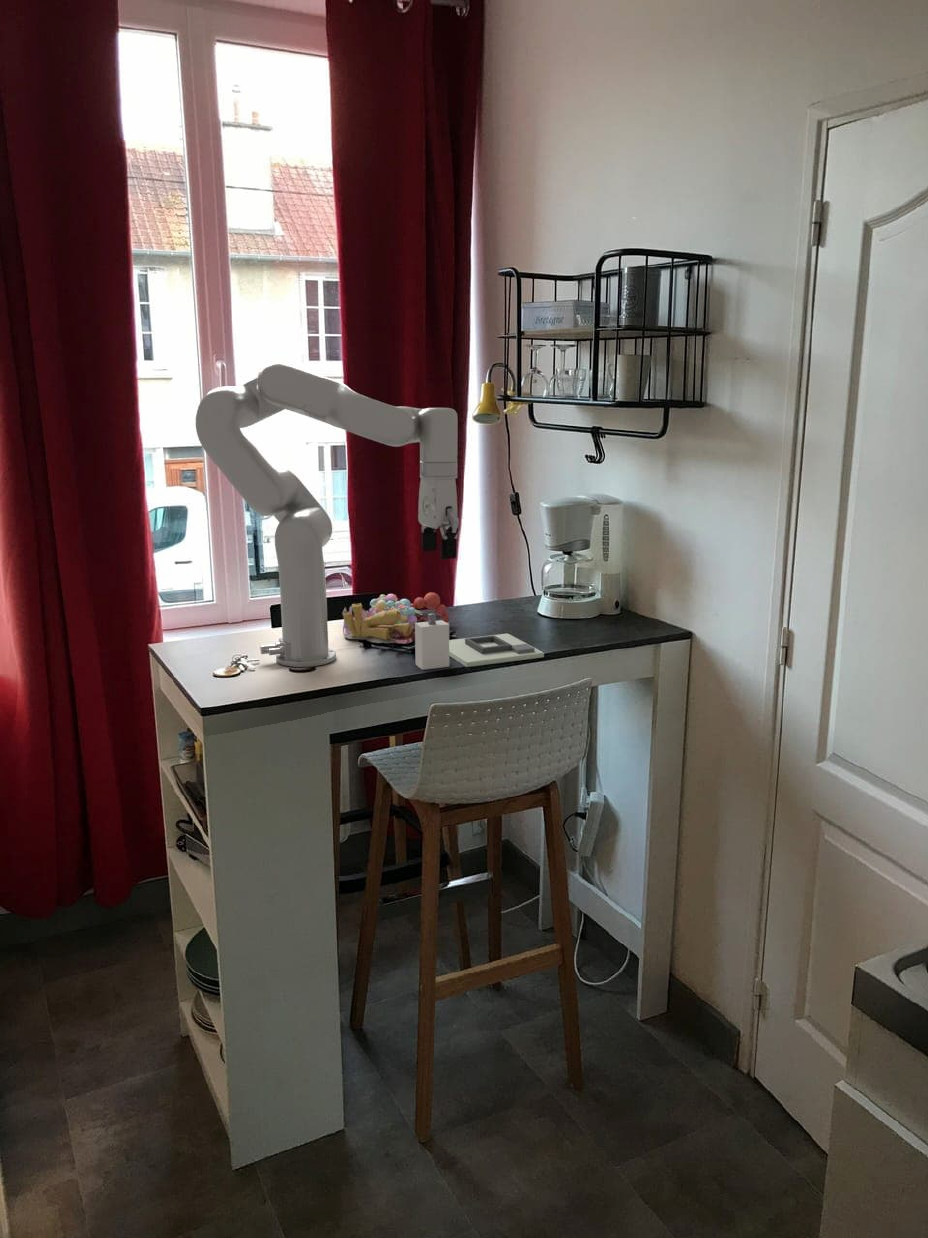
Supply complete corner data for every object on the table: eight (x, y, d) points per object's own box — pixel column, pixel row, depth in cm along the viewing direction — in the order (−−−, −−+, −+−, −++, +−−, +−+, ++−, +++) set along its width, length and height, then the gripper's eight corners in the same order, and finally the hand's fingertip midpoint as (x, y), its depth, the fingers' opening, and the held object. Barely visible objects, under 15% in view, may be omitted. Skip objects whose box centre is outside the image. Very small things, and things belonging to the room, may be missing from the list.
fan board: (466, 667, 201) (466, 656, 201) (434, 646, 217) (434, 636, 217) (543, 657, 208) (544, 647, 207) (507, 637, 224) (507, 628, 224)
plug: (422, 669, 200) (421, 617, 197) (415, 664, 203) (414, 613, 201) (449, 666, 202) (448, 614, 199) (442, 661, 205) (441, 610, 203)
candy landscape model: (426, 650, 215) (426, 609, 213) (327, 643, 221) (326, 604, 219) (456, 624, 239) (456, 587, 236) (366, 618, 245) (365, 582, 242)
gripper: (405, 467, 202) (406, 549, 206) (438, 474, 186) (438, 562, 190) (438, 466, 205) (438, 547, 209) (474, 473, 189) (473, 560, 193)
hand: (438, 554), depth 199 cm, fingers open, 9 cm apart
